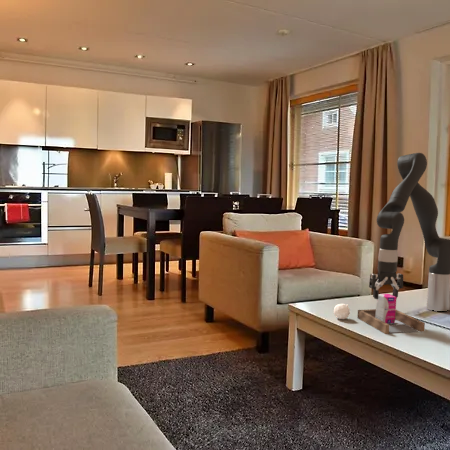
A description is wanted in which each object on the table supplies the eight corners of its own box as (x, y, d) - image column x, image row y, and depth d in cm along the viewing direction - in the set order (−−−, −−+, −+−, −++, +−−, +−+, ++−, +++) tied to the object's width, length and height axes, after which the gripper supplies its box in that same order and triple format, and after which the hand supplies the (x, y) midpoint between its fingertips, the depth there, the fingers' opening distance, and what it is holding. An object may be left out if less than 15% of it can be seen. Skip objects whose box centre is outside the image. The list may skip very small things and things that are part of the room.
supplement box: (383, 324, 192) (384, 297, 191) (374, 320, 198) (376, 293, 197) (395, 324, 194) (396, 296, 193) (386, 319, 199) (388, 293, 198)
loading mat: (377, 326, 190) (377, 325, 190) (404, 324, 193) (404, 324, 193) (389, 333, 181) (389, 332, 181) (418, 331, 184) (418, 330, 184)
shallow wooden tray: (357, 318, 201) (357, 310, 201) (392, 316, 205) (393, 308, 205) (385, 333, 180) (385, 325, 180) (424, 331, 184) (424, 323, 184)
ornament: (337, 315, 204) (348, 302, 203) (345, 325, 199) (356, 312, 197) (327, 309, 201) (339, 296, 200) (335, 319, 195) (347, 306, 194)
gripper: (398, 258, 199) (395, 296, 200) (367, 258, 196) (365, 296, 197) (408, 261, 192) (405, 300, 193) (376, 261, 188) (374, 301, 190)
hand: (385, 298), depth 195 cm, fingers open, 8 cm apart
